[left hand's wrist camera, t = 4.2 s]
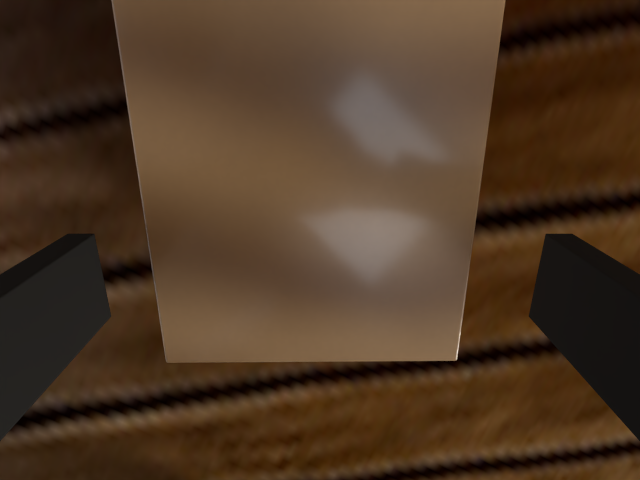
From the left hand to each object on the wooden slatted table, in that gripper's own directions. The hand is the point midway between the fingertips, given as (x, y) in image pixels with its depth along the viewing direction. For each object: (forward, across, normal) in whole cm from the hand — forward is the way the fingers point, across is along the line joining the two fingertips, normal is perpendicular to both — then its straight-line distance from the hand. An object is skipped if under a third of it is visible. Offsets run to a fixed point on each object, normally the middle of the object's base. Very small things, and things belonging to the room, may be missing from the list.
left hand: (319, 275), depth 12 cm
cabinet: (+10, 0, -6) cm, 11 cm away
